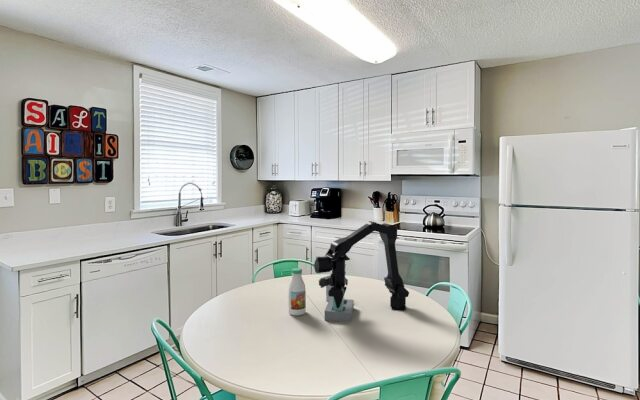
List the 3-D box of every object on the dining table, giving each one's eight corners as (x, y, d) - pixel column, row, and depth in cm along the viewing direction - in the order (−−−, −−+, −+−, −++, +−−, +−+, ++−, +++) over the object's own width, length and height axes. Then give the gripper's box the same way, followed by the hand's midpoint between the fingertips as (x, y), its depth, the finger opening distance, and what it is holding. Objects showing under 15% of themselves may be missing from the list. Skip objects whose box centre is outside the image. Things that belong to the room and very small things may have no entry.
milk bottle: (285, 314, 160) (284, 270, 158) (294, 308, 167) (293, 266, 165) (300, 317, 156) (299, 272, 155) (308, 311, 163) (308, 268, 162)
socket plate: (353, 308, 167) (353, 299, 167) (350, 321, 151) (350, 312, 151) (330, 306, 169) (330, 298, 169) (324, 320, 153) (324, 311, 153)
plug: (343, 310, 158) (343, 289, 157) (342, 313, 154) (342, 292, 153) (334, 309, 158) (334, 289, 158) (333, 313, 154) (333, 292, 154)
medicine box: (333, 302, 174) (333, 285, 173) (325, 300, 177) (325, 283, 176) (342, 298, 180) (342, 281, 180) (335, 296, 183) (335, 279, 182)
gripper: (323, 264, 165) (323, 297, 166) (316, 275, 147) (316, 313, 148) (347, 265, 163) (347, 299, 164) (343, 277, 145) (343, 314, 146)
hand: (338, 306), depth 156 cm, fingers closed on plug, 4 cm apart
